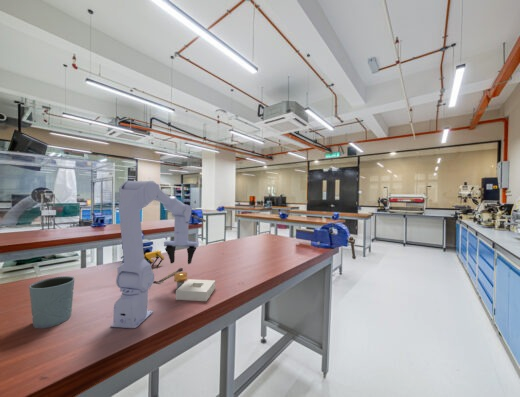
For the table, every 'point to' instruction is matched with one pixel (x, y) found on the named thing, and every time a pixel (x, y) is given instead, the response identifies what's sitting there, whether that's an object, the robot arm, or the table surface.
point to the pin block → (195, 290)
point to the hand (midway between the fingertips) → (180, 263)
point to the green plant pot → (51, 301)
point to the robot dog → (153, 254)
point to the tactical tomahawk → (167, 276)
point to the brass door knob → (180, 278)
